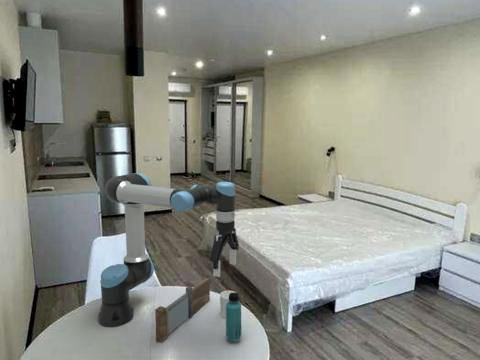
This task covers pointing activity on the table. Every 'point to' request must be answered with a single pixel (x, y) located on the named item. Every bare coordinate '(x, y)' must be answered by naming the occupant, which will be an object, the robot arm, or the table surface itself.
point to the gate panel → (176, 313)
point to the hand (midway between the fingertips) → (225, 269)
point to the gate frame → (195, 303)
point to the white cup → (224, 301)
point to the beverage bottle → (233, 318)
